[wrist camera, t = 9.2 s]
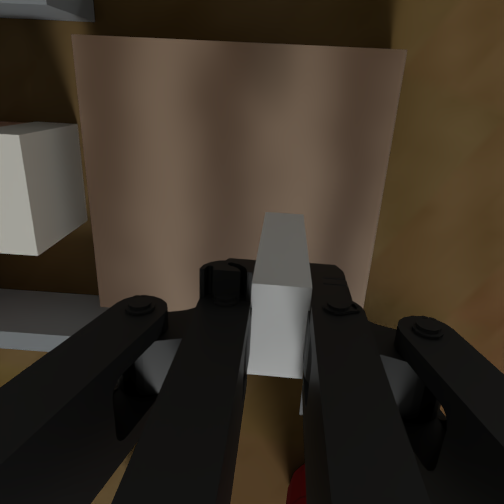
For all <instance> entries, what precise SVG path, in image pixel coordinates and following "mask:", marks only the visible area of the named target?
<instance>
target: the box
mask: <svg viewBox="0 0 504 504" xmlns="http://www.w3.org/2000/svg"><path fill="white" fill-rule="evenodd" d="M0 18H17V19H39V20H61V21H83V22H95V16H94V4H93V0H0ZM107 309H109V308H108V307H100V299H99V295H86V294H71V293H57V292H42V291H28V290H13V289H0V348H6V349H19V350H33V351H46V352H50V351H51V350H53V349H54V348H55V347H57V346H58V345H59V344H61V343H62V342H64V341H65V340H66V339H68V338H69V337H70V336H72V335H73V334H74V333H76V332H77V331H79V330H80V329H81V328H83V327H84V326H85V325H87V324H88V323H90V322H91V321H92V320H94V319H95V318H96V317H98V316H99V315H101V314H102V313H103V312H105V311H106V310H107Z"/></svg>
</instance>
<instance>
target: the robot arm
mask: <svg viewBox="0 0 504 504" xmlns="http://www.w3.org/2000/svg"><path fill="white" fill-rule="evenodd" d="M303 368H304V377H303ZM247 374H254V375H265V376H276V377H287V378H297V379H302V377H303V386H302V395H301V404H300V412H299V415H303V429H304V454H305V478H306V502H307V504H504V374H503V373H502V372H500V371H499V370H498V369H497V368H496V367H495V366H494V365H493V364H492V363H490V362H489V361H488V360H487V359H486V358H485V357H484V356H483V355H481V354H480V353H479V352H478V351H477V350H476V349H475V348H474V347H473V346H471V345H470V344H469V343H468V342H467V341H466V340H465V339H464V338H462V337H461V336H460V335H459V334H458V333H457V332H456V331H455V330H454V329H452V328H451V327H449V326H448V325H446V324H445V323H442V322H440V321H438V320H436V319H434V318H431V317H429V318H428V317H426V316H409V317H404V318H402V319H401V320H399V322H398V326H397V330H396V329H392V328H388V327H384V326H380V325H377V324H374V323H372V322H370V321H368V319H367V317H366V314H365V311H364V310H363V308H362V307H361V306H360V305H359V304H357V303H355V302H354V301H353V300H352V297H351V294H350V291H349V287H348V284H347V281H346V278H345V275H344V272H343V271H342V270H341V269H340V268H339V267H337V266H336V265H331V264H318V263H309V256H308V248H307V240H306V232H305V224H304V216H303V214H289V213H274V212H265V217H264V222H263V227H262V233H261V238H260V243H259V248H258V253H257V259H256V260H249V259H236V258H229V259H227V260H219V261H213V262H209V263H206V264H204V265H203V266H202V267H201V268H200V269H199V300H198V303H197V305H196V307H195V308H191V309H188V310H181V311H171V312H168V307H167V303H166V302H165V301H164V300H163V299H161V298H158V297H155V296H148V295H141V296H140V295H135V296H133V297H129V298H125V299H123V300H121V301H119V302H117V303H116V304H114V305H113V306H112V307H110V308H109V309H107V310H106V311H105V312H103V313H102V314H101V315H99V316H98V317H96V318H95V319H94V320H92V321H91V322H90V323H88V324H87V325H85V326H84V327H83V328H81V329H80V330H79V331H77V332H76V333H74V334H73V335H72V336H70V337H69V338H68V339H66V340H65V341H64V342H62V343H61V344H59V345H58V346H57V347H55V348H54V349H53V350H51V351H50V352H48V353H47V354H46V355H44V356H43V357H42V358H40V359H39V360H37V361H36V362H35V363H33V364H32V365H31V366H29V367H28V368H26V369H25V370H24V371H22V372H21V373H20V374H18V375H17V376H15V377H14V378H13V379H11V380H10V381H9V382H7V383H6V384H4V385H3V386H2V387H0V504H91V502H92V501H93V500H94V498H95V497H96V496H97V494H98V493H99V492H100V491H101V489H102V488H103V487H104V485H105V484H106V483H107V481H108V480H109V479H110V477H111V476H112V475H113V473H114V472H115V471H116V469H117V468H118V467H119V465H120V464H121V463H122V461H123V460H124V459H125V457H126V456H127V455H128V453H129V452H130V451H131V449H132V448H133V447H134V446H135V444H136V443H137V442H138V443H137V445H136V447H135V450H134V452H133V454H132V457H131V459H130V461H129V464H128V466H127V468H126V471H125V473H124V475H123V478H122V480H121V482H120V485H119V487H118V489H117V492H116V494H115V496H114V499H113V501H112V503H111V504H230V501H231V494H232V486H233V479H234V472H235V465H236V458H237V450H238V443H239V436H240V429H241V422H242V415H243V407H244V400H245V393H246V385H247ZM441 405H442V407H443V408H444V411H445V414H446V416H445V415H444V414H443V413H442V412H441V410H440V406H441Z"/></svg>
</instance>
